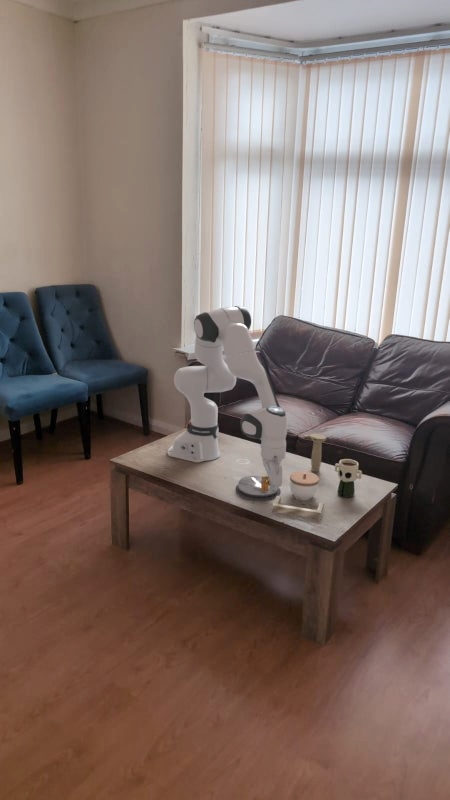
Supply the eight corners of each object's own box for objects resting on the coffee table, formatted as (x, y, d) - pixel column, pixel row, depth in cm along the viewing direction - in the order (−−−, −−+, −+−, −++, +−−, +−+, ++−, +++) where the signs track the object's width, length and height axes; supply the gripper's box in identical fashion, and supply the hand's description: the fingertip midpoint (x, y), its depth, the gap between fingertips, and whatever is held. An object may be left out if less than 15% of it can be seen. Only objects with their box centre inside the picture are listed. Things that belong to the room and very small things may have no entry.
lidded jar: (294, 504, 223) (296, 480, 220) (284, 491, 233) (286, 468, 230) (322, 501, 225) (324, 478, 222) (311, 489, 235) (313, 466, 232)
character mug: (328, 493, 232) (331, 461, 228) (337, 487, 238) (340, 455, 234) (354, 502, 226) (357, 469, 222) (363, 495, 231) (366, 463, 227)
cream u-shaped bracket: (272, 511, 217) (272, 505, 216) (276, 501, 224) (276, 495, 223) (320, 519, 212) (320, 513, 212) (323, 509, 220) (323, 502, 219)
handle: (319, 474, 248) (322, 439, 244) (305, 470, 252) (308, 435, 247) (325, 471, 252) (328, 436, 247) (311, 466, 255) (314, 432, 251)
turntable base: (230, 496, 227) (230, 495, 227) (241, 478, 242) (241, 477, 242) (275, 503, 222) (275, 503, 222) (284, 484, 238) (284, 483, 238)
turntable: (232, 483, 236) (232, 466, 234) (267, 478, 242) (268, 461, 239) (247, 500, 223) (248, 482, 221) (284, 494, 228) (286, 477, 226)
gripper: (287, 463, 211) (285, 499, 215) (276, 441, 230) (274, 474, 234) (269, 463, 210) (267, 499, 214) (260, 441, 230) (258, 475, 234)
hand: (271, 486), depth 225 cm, fingers closed
